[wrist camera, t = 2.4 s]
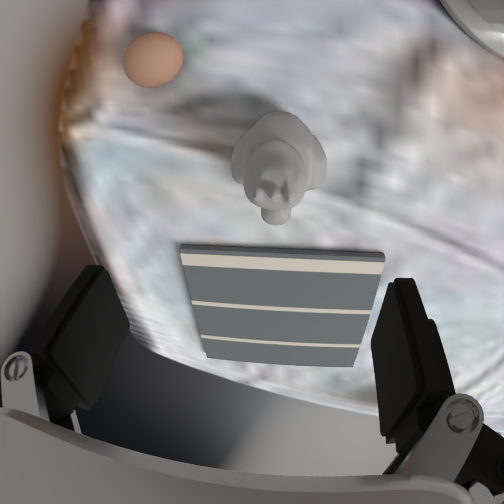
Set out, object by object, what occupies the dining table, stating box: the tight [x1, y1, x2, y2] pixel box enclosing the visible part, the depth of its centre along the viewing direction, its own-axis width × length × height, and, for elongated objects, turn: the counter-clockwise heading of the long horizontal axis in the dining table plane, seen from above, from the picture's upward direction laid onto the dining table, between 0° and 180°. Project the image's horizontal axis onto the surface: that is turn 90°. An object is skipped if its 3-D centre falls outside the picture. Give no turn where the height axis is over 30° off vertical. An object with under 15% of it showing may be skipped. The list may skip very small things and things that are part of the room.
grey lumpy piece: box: [231, 111, 327, 225], centre depth 17 cm, size 5×7×8 cm
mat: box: [179, 245, 385, 367], centre depth 29 cm, size 15×16×1 cm
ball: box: [124, 32, 183, 88], centre depth 15 cm, size 4×4×4 cm
